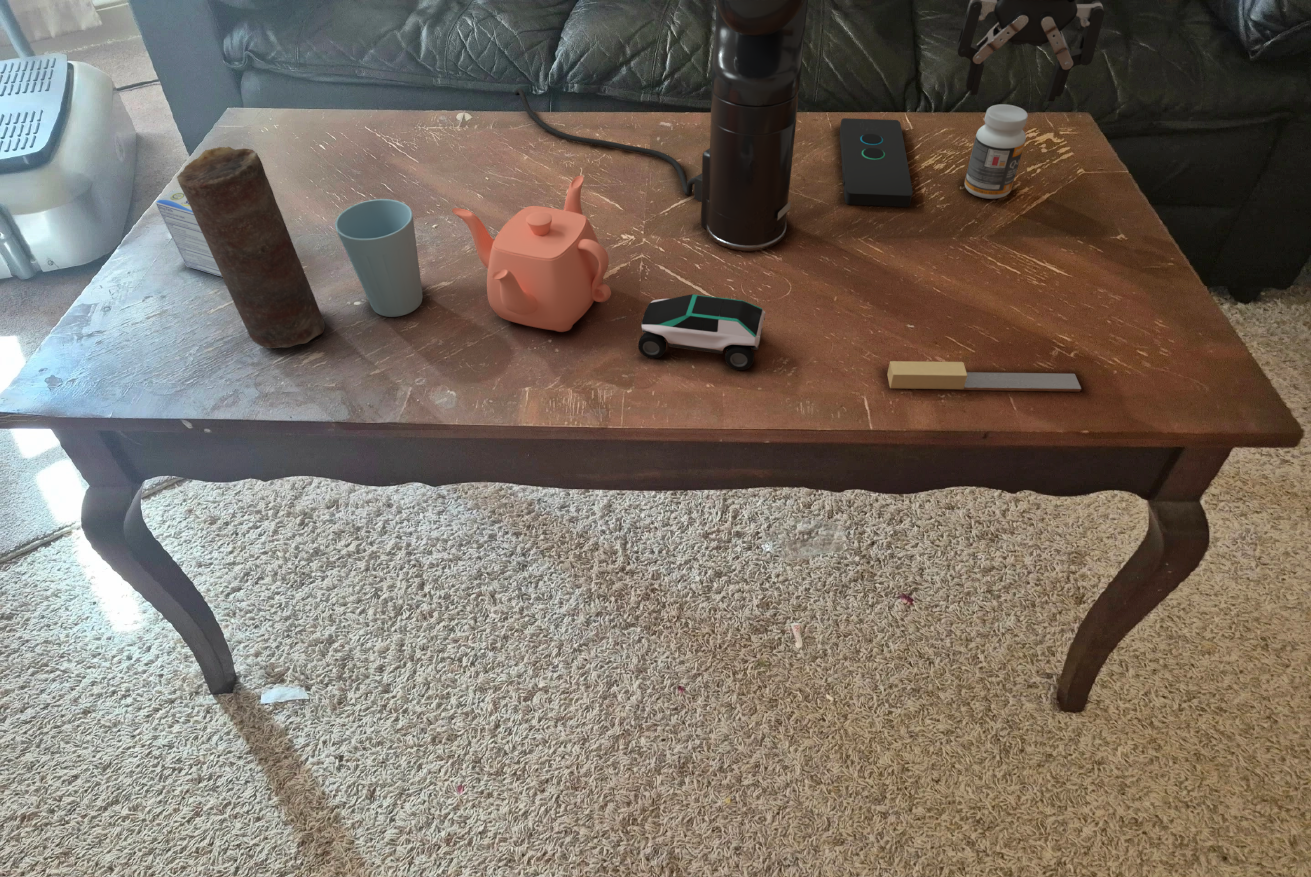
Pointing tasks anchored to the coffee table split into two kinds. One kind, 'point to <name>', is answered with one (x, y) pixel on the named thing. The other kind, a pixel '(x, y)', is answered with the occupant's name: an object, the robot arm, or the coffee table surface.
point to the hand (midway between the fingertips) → (1011, 95)
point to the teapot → (542, 264)
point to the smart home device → (874, 163)
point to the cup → (383, 254)
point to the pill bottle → (997, 152)
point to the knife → (973, 378)
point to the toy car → (703, 327)
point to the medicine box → (186, 232)
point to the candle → (251, 246)
